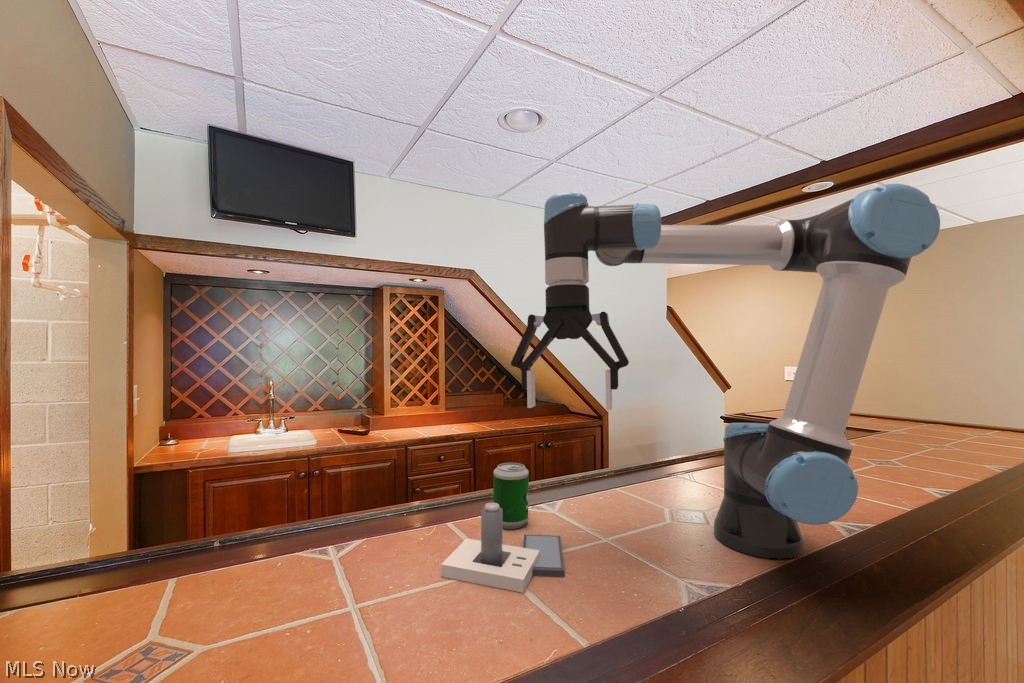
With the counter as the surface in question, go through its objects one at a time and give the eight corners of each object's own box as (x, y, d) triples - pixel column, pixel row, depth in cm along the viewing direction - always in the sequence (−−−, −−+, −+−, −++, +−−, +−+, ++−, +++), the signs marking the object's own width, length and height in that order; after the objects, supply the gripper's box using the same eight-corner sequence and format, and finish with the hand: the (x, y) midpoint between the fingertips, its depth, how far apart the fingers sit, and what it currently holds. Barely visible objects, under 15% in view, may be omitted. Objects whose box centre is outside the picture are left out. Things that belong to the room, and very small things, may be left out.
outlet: (539, 561, 77) (539, 549, 77) (523, 592, 67) (523, 579, 67) (466, 549, 81) (466, 537, 81) (440, 576, 72) (441, 563, 72)
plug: (504, 565, 75) (505, 502, 75) (497, 576, 72) (498, 510, 72) (485, 562, 76) (486, 500, 76) (477, 572, 73) (478, 507, 73)
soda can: (525, 532, 89) (525, 472, 89) (488, 528, 90) (489, 470, 90) (530, 517, 96) (531, 462, 96) (497, 514, 97) (498, 460, 97)
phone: (560, 540, 85) (560, 535, 85) (564, 576, 72) (564, 570, 72) (523, 539, 85) (524, 534, 85) (521, 575, 72) (521, 568, 72)
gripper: (642, 284, 76) (644, 406, 76) (505, 291, 84) (507, 403, 84) (641, 278, 69) (643, 413, 69) (492, 287, 76) (494, 409, 76)
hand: (569, 408), depth 76 cm, fingers open, 13 cm apart
